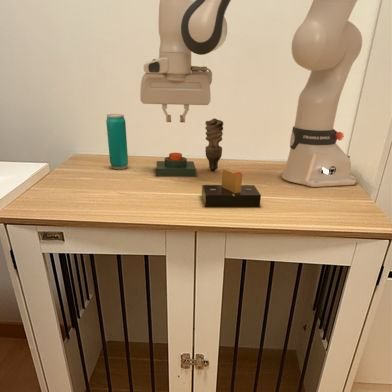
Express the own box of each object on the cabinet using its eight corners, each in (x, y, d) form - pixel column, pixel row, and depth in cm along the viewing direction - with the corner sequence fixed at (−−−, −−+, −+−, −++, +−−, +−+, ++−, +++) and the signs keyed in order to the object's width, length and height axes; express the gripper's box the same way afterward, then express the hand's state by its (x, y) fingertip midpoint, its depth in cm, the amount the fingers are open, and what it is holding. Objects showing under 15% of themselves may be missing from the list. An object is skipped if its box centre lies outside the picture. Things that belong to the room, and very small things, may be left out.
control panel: (252, 195, 112) (253, 183, 110) (260, 208, 103) (261, 195, 101) (201, 195, 111) (201, 183, 109) (205, 208, 102) (206, 195, 100)
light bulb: (201, 171, 131) (203, 118, 122) (206, 168, 135) (208, 116, 126) (218, 173, 130) (221, 120, 121) (222, 170, 134) (226, 117, 125)
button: (181, 158, 129) (181, 152, 128) (182, 161, 126) (182, 155, 125) (169, 158, 129) (168, 152, 128) (169, 161, 126) (169, 155, 125)
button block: (193, 168, 134) (193, 155, 132) (195, 176, 126) (196, 162, 124) (156, 168, 133) (156, 154, 131) (156, 176, 125) (156, 162, 123)
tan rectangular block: (221, 186, 107) (222, 167, 104) (227, 186, 108) (228, 166, 105) (234, 193, 103) (236, 173, 100) (240, 192, 103) (242, 172, 101)
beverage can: (126, 165, 135) (122, 113, 126) (130, 169, 131) (126, 116, 122) (108, 166, 134) (104, 113, 125) (112, 170, 129) (107, 116, 120)
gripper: (211, 66, 116) (209, 121, 125) (139, 64, 115) (141, 119, 123) (213, 67, 111) (211, 124, 120) (138, 65, 110) (141, 123, 118)
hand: (175, 122), depth 121 cm, fingers open, 3 cm apart
